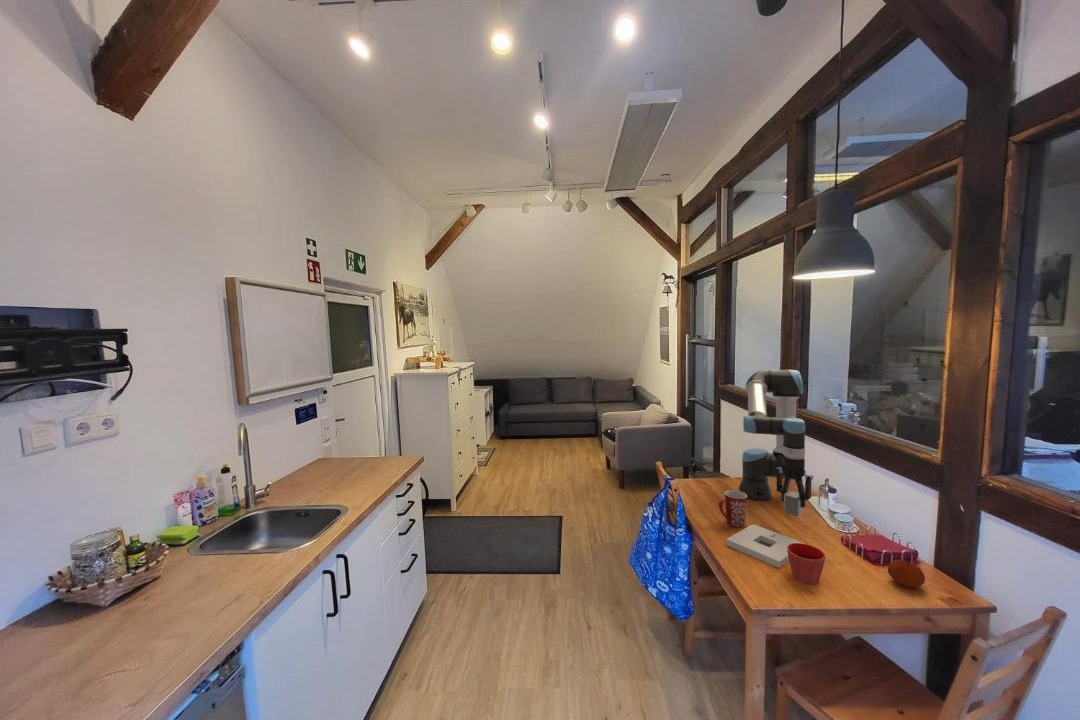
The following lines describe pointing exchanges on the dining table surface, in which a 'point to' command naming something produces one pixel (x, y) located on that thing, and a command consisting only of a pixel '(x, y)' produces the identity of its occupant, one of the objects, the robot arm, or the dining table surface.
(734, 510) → the mug
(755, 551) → the socket plate
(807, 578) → the flower pot
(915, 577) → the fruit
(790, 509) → the plug
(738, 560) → the dining table surface
